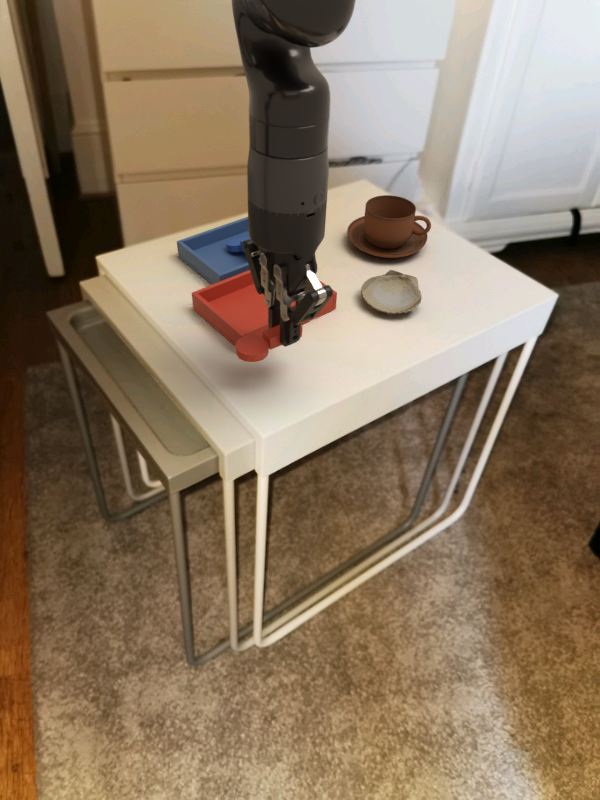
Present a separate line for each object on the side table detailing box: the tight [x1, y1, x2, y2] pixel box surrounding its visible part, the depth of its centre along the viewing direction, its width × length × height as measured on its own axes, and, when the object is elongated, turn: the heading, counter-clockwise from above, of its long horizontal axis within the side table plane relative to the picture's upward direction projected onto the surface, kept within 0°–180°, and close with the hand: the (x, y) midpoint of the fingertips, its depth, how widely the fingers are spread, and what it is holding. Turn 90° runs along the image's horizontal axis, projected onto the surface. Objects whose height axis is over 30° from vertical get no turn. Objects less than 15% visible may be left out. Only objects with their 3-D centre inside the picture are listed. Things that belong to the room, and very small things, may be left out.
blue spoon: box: [226, 237, 250, 253], centre depth 91 cm, size 8×4×2 cm, turn 39°
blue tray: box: [176, 216, 260, 285], centre depth 93 cm, size 15×11×3 cm
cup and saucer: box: [346, 194, 432, 259], centre depth 95 cm, size 12×12×6 cm
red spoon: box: [235, 324, 303, 363], centre depth 70 cm, size 8×4×2 cm, turn 126°
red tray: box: [191, 270, 338, 347], centre depth 83 cm, size 15×11×3 cm
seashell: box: [360, 269, 423, 315], centre depth 85 cm, size 8×3×8 cm
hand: (283, 337), depth 72 cm, fingers closed on red spoon, 1 cm apart
